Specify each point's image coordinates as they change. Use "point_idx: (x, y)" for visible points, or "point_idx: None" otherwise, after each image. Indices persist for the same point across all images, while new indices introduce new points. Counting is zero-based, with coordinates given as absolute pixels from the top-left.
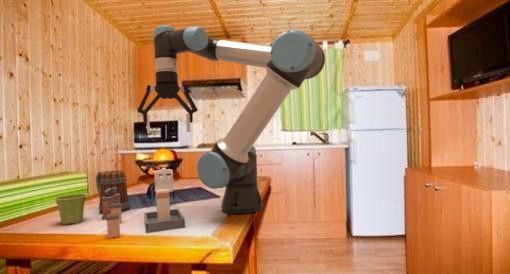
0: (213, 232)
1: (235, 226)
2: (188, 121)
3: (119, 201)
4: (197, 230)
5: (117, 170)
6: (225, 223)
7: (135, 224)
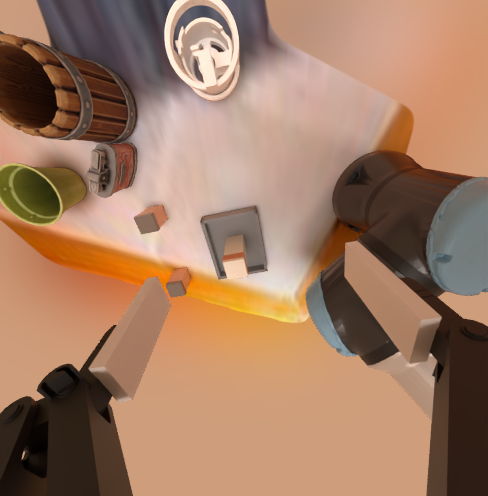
0: (297, 290)
1: None
2: (378, 315)
3: (122, 151)
4: (280, 279)
5: (8, 41)
6: (319, 263)
7: (193, 232)
